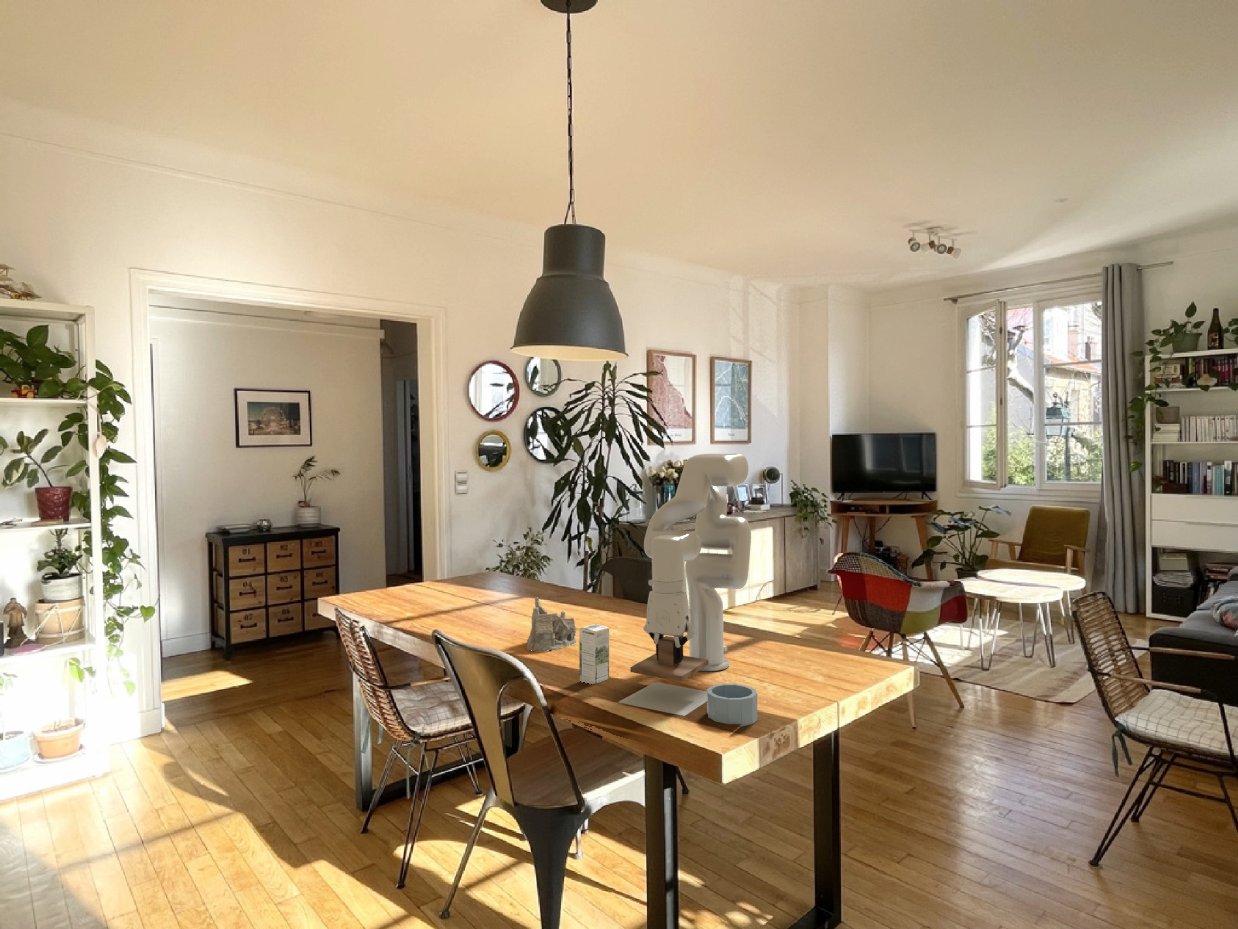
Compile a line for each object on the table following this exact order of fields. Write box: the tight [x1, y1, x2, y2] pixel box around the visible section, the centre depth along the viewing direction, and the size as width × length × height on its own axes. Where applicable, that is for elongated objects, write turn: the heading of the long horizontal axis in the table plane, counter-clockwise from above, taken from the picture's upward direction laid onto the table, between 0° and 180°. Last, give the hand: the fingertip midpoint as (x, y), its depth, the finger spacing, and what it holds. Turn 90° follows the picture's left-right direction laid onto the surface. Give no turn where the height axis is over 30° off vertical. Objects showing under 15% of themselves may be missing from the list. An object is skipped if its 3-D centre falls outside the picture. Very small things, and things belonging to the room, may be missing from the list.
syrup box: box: [578, 623, 610, 685], centre depth 198 cm, size 6×6×14 cm
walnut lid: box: [629, 635, 708, 682], centre depth 183 cm, size 14×14×7 cm
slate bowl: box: [706, 683, 758, 728], centre depth 171 cm, size 11×11×6 cm
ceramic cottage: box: [526, 596, 577, 652], centre depth 236 cm, size 16×16×15 cm
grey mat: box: [617, 681, 707, 717], centre depth 183 cm, size 18×18×1 cm
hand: (669, 660), depth 183 cm, fingers closed on walnut lid, 4 cm apart
